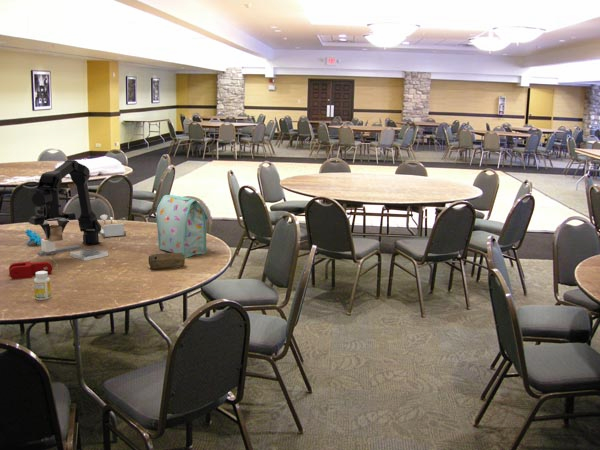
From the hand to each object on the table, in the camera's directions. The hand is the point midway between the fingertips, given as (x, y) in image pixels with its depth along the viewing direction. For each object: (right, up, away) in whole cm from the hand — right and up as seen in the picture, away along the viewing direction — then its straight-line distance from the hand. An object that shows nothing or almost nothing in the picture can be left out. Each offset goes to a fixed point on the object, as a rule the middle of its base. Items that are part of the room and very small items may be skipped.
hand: (54, 237), depth 263 cm
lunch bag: (+51, -7, +24) cm, 57 cm away
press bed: (+11, -9, +12) cm, 19 cm away
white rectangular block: (-8, -6, +14) cm, 17 cm away
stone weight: (+50, -13, -3) cm, 52 cm away
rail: (-5, -7, +18) cm, 20 cm away
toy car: (+7, 0, +56) cm, 56 cm away
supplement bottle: (+14, -21, -44) cm, 51 cm away
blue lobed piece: (-21, -4, +30) cm, 37 cm away
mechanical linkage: (-2, -15, -18) cm, 24 cm away
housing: (0, -1, 0) cm, 1 cm away
